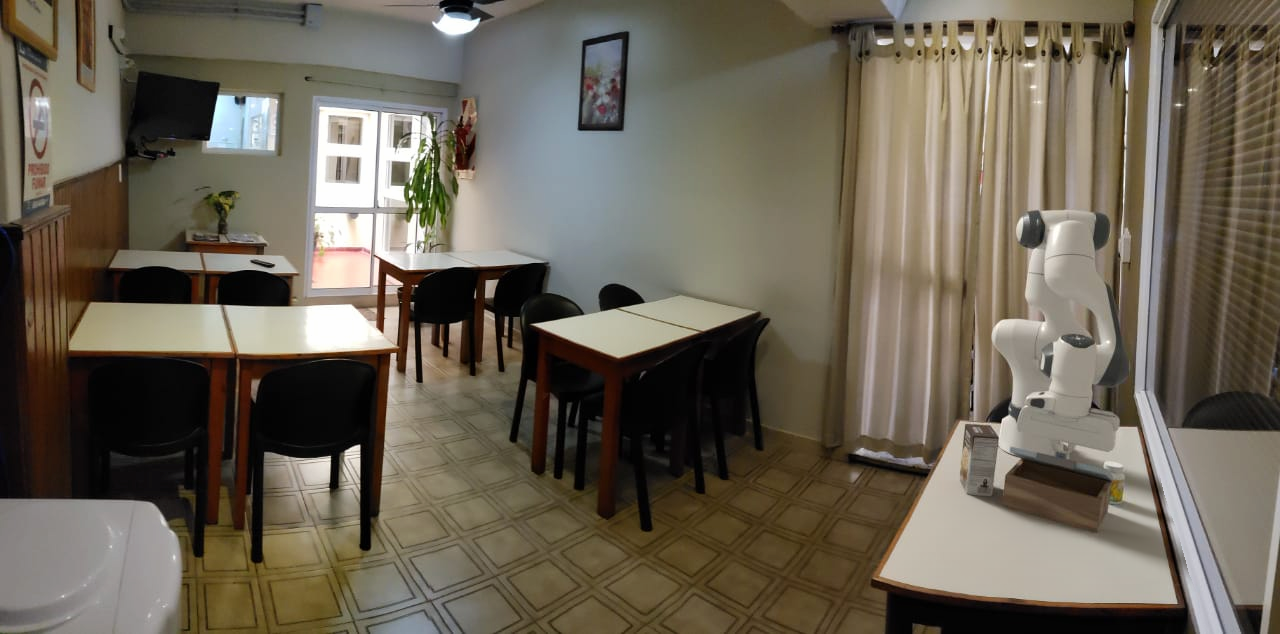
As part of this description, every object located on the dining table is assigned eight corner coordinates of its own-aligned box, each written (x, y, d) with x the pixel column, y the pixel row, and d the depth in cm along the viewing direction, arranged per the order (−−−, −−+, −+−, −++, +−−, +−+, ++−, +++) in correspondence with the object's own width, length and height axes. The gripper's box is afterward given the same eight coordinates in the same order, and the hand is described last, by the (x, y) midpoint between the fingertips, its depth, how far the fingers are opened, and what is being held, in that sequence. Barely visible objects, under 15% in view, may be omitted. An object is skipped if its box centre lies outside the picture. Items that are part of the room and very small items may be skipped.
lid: (1020, 461, 183) (1022, 454, 183) (1111, 483, 170) (1113, 476, 170) (1007, 453, 172) (1009, 445, 172) (1104, 476, 159) (1106, 468, 159)
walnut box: (1017, 487, 185) (1021, 458, 183) (1107, 511, 172) (1112, 481, 170) (1001, 505, 174) (1005, 474, 173) (1096, 532, 161) (1101, 500, 160)
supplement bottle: (1126, 502, 177) (1131, 466, 175) (1112, 506, 175) (1118, 469, 173) (1104, 493, 182) (1109, 458, 180) (1091, 497, 180) (1096, 461, 178)
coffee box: (958, 479, 189) (964, 422, 186) (983, 482, 188) (990, 424, 185) (966, 494, 180) (972, 434, 177) (993, 497, 179) (1000, 437, 176)
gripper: (1123, 410, 163) (1114, 466, 166) (1025, 391, 176) (1018, 444, 179) (1118, 417, 158) (1109, 475, 161) (1018, 397, 171) (1011, 451, 174)
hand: (1060, 458), depth 170 cm, fingers closed
